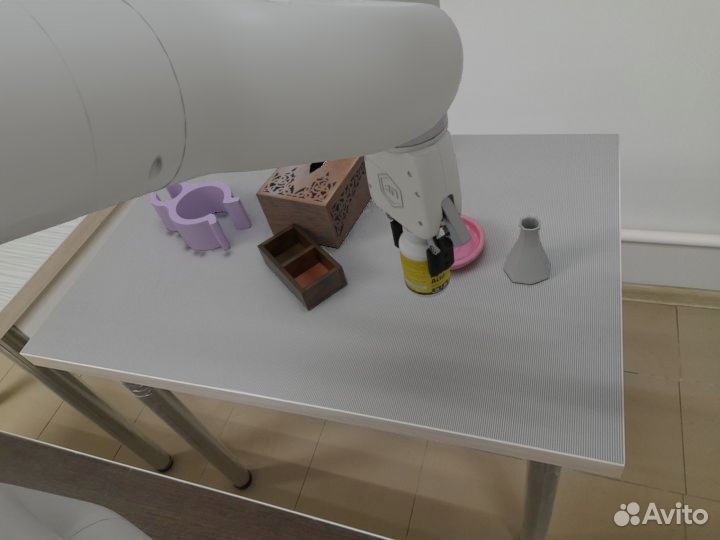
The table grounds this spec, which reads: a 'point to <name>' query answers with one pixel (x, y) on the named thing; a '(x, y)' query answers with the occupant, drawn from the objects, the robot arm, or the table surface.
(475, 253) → the saucer
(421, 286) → the supplement bottle
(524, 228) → the flask
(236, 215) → the clip
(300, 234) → the holder
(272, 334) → the table surface
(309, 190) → the tissue box cover
